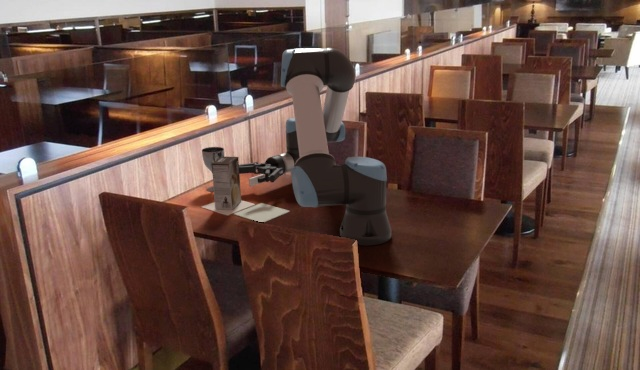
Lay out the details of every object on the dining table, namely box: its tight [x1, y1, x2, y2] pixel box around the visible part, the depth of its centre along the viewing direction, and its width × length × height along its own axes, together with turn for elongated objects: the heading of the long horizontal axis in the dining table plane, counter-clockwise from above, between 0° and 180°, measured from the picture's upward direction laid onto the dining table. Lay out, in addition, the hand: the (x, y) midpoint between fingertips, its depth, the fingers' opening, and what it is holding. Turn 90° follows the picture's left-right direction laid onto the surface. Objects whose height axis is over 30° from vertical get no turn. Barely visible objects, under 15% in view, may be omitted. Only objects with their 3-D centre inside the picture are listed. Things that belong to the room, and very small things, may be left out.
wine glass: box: [201, 146, 225, 193], centre depth 218 cm, size 8×8×15 cm
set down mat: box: [233, 202, 291, 223], centre depth 195 cm, size 13×13×1 cm
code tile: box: [201, 199, 257, 216], centre depth 202 cm, size 13×13×1 cm
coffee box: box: [211, 156, 242, 210], centre depth 200 cm, size 9×6×16 cm
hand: (235, 178), depth 203 cm, fingers open, 13 cm apart
